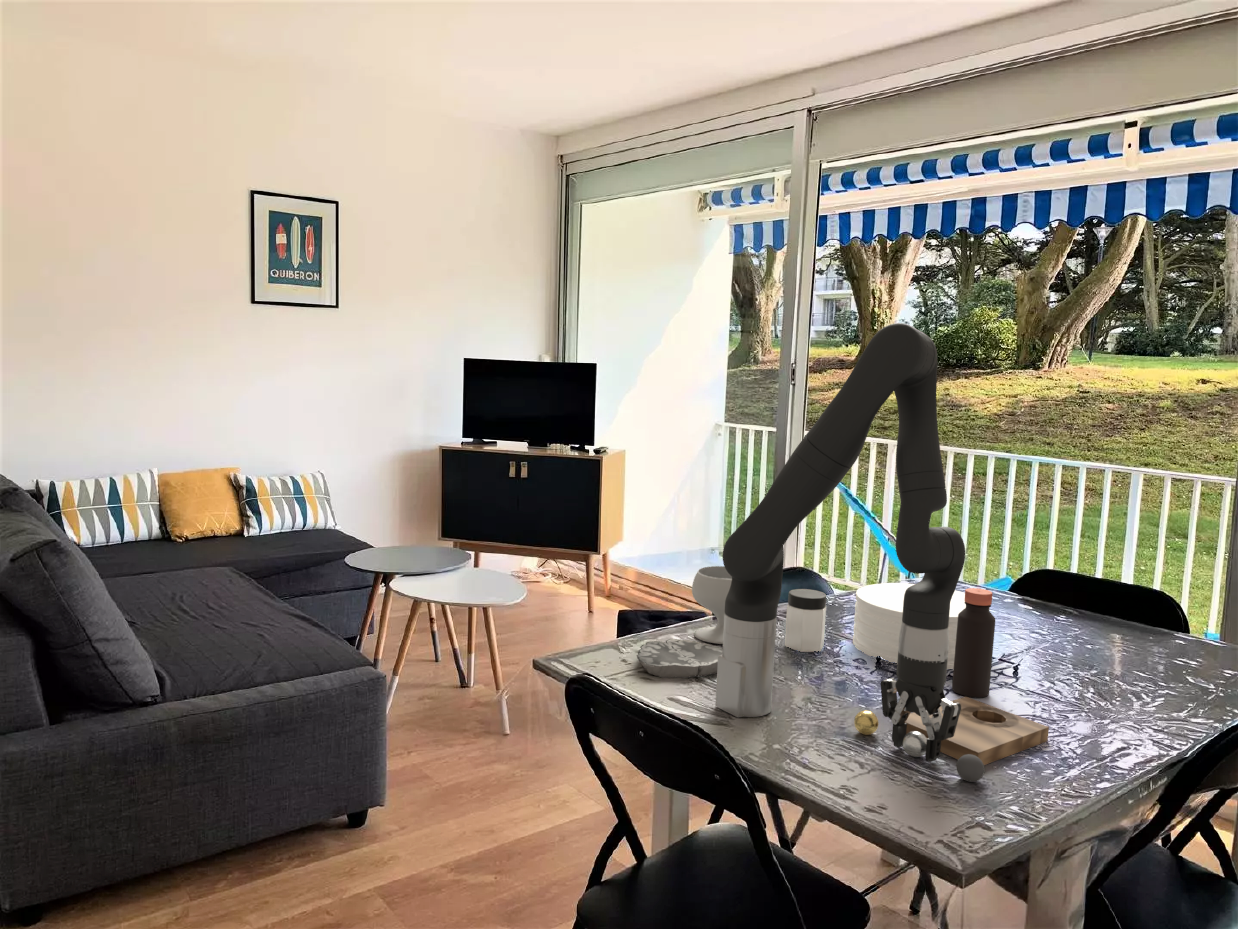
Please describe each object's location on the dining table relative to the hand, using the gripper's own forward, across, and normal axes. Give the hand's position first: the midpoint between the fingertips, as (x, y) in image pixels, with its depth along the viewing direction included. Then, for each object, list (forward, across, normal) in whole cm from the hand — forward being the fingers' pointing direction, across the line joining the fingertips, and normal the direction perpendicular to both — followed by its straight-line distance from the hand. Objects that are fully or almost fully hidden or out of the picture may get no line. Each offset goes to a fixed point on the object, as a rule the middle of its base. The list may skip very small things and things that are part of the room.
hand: (915, 752), depth 149 cm
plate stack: (+1, -36, +48) cm, 60 cm away
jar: (+1, -49, +26) cm, 55 cm away
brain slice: (+1, -53, -6) cm, 53 cm away
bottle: (+1, -13, +34) cm, 36 cm away
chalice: (+1, -63, +14) cm, 65 cm away
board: (+1, 0, +15) cm, 15 cm away
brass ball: (-2, -10, 0) cm, 10 cm away
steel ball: (-1, 0, 0) cm, 1 cm away
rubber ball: (-1, +10, 0) cm, 10 cm away
